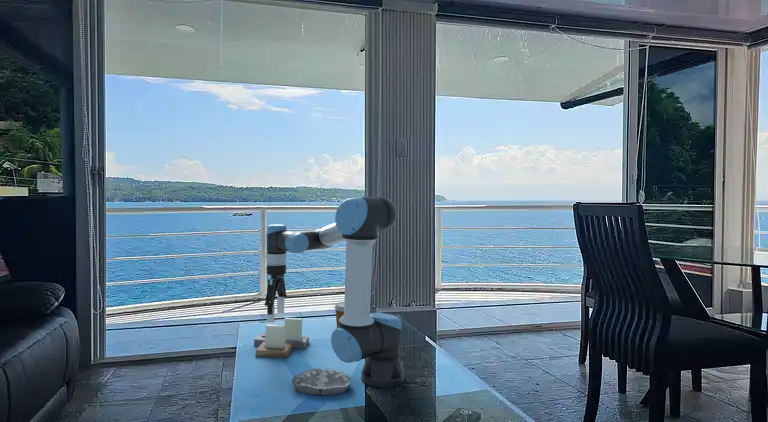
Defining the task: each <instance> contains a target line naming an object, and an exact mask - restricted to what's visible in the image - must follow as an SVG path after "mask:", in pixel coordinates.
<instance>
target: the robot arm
mask: <svg viewBox="0 0 768 422" xmlns="http://www.w3.org/2000/svg"><path fill="white" fill-rule="evenodd" d="M397 217H398V211H397V208H396V206H395V204H394V203H393V202H392V200H390V199H389V198H387V197H383V196H373V197H372V196H370V197H369V196H367V197H366V196H361V197H360V196H354V197H349V198H346V199H344V200H343V201H342V202H341V203H340V204H339V205H338V206H337V208H336V210H335V215H334V219H335V220H334V222H333V223H331V224H328V225H325V226H324V227H321V228H319V229H315V230H301V231H288V229H287V228H288V227H287V225H285V224H280V223H276V224H275V223H273V224H269V225H268V226H267V227H266V235H265V236H266V255H265V258H266V274H267V275H269V276H270V278H269V279H267V289H266V295H265V302H264V306H266V323H272V324H274V323H275V316H276V314H285V298H286V297H287V295H288V294H287V291H286V290H287V289H286V285H285V284H286V282H285V275H286V273H287V253H288V252H289V253H293V254H302V253H304V252H305V251H314V250H324V249H329V248H332V247H333V245H335V244H339V243H341V242H345V244H346V246H345V247H346V248H345V249H346V250H345V251H346V252H345V272H344V274H345V277H344V278H345V279H344V301H343V302H344V315H343V316H342V317H341V318H340V319H339V328H338V329H337V328H336V329H334V330H333V331H332V333H331V335H330V336H331V337H330V344H331V348H332V351H333V353H335V355H336V357H337V358H338V360H340V361H342V362H343V363H345V364H350V363H351V364H352V363H357V362H360V361H361V360H364V359H365V361H364V364H363V366H362V369H361V371H360V372H361V374H360V375H361V377H360V379H361V381H362V382H363V384H365V385H367V386H371V387H374V388H375V387H376V388H394V387H398V386H401V384H403V382H404V380H405V372H404V369H403V364H402V361H401V340H402V322H401V318H399V317H398V316H396V315H393V314H390V313H389V314H388V313H384V312H372V313H371V296H372V295H371V294H372V272H373V271H372V268H373V248H374V247H373V246H374V243H376V242H377V240H378V235H379V234H378V233H379V232H384V231H386V230H389V229H391V228H392V227H393V226H394V224H395V223H396V221H397ZM276 297H277V299H276ZM275 299H276V301H277V303H276V306H277V307H275ZM275 308H276V311H275ZM275 312H276V314H275Z"/></svg>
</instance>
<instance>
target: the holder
mask: <svg viewBox="0 0 768 422" xmlns="http://www.w3.org/2000/svg"><path fill="white" fill-rule="evenodd" d="M293 350H294V348H293V343H284V348H270V347H265V341H264V342H263V343H262V344H261V345H260V346H257V348H255V357H263V358H276V359H277V358H280V359H287V357H288V356H289V355H290V353H291V352H292V351H293Z"/></svg>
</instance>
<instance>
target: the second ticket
mask: <svg viewBox="0 0 768 422" xmlns="http://www.w3.org/2000/svg"><path fill="white" fill-rule="evenodd" d="M283 325H284V339H292V340H302V336H303V318H297V317H296V318H295V317H285V318H284V324H283Z"/></svg>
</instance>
